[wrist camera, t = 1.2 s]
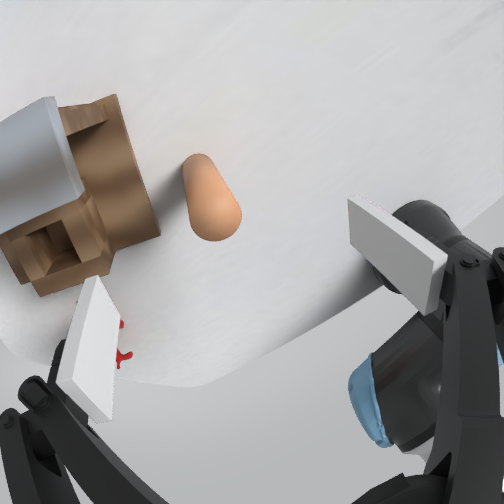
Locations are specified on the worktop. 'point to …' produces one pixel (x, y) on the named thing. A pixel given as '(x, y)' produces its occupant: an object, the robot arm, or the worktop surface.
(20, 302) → the worktop surface
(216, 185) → the peg
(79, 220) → the socket station
